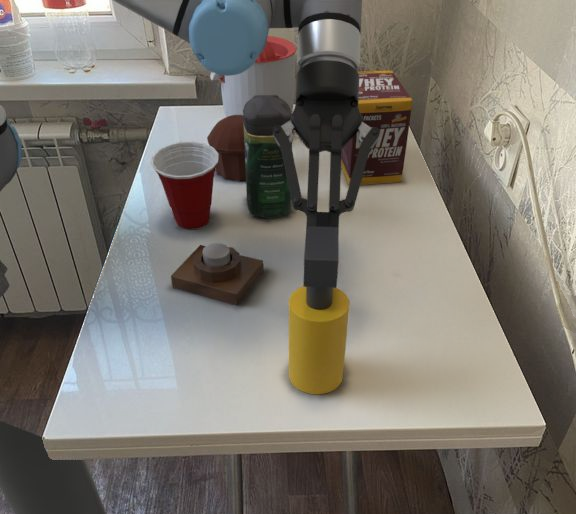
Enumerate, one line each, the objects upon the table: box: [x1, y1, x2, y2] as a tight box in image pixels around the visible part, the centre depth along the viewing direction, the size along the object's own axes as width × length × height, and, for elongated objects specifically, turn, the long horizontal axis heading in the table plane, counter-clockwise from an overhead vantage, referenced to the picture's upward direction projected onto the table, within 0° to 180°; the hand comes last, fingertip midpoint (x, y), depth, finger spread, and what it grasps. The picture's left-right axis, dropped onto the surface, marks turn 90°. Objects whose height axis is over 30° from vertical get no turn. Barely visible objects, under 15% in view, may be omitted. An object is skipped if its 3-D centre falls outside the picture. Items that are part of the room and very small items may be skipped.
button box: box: [170, 244, 265, 307], centre depth 93 cm, size 11×9×4 cm
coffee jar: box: [243, 95, 293, 219], centre depth 104 cm, size 10×8×19 cm
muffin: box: [206, 115, 246, 182], centre depth 117 cm, size 12×11×10 cm
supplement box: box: [341, 70, 414, 186], centre depth 116 cm, size 10×15×16 cm
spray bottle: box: [288, 226, 350, 395], centre depth 73 cm, size 8×7×20 cm
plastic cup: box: [150, 140, 218, 230], centre depth 102 cm, size 11×11×12 cm
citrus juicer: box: [209, 35, 297, 117], centre depth 126 cm, size 16×17×20 cm
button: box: [203, 242, 230, 267], centre depth 91 cm, size 4×4×2 cm
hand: (320, 269), depth 73 cm, fingers closed
